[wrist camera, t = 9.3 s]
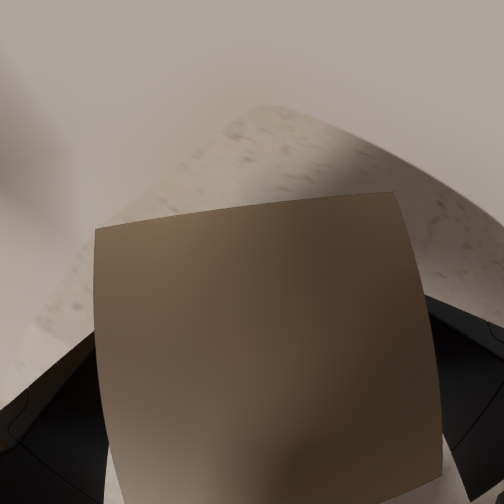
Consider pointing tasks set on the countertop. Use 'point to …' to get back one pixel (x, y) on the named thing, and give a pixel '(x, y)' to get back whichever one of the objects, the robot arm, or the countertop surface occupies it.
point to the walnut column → (267, 355)
